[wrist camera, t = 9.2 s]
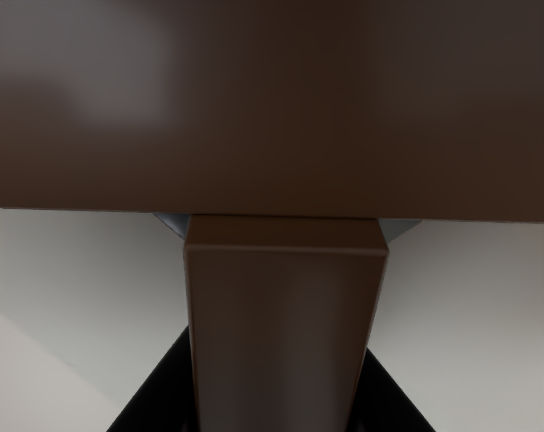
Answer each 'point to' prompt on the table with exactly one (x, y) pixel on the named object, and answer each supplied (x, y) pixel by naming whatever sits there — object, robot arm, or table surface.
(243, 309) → the brown t-shaped slab
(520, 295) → the table surface
